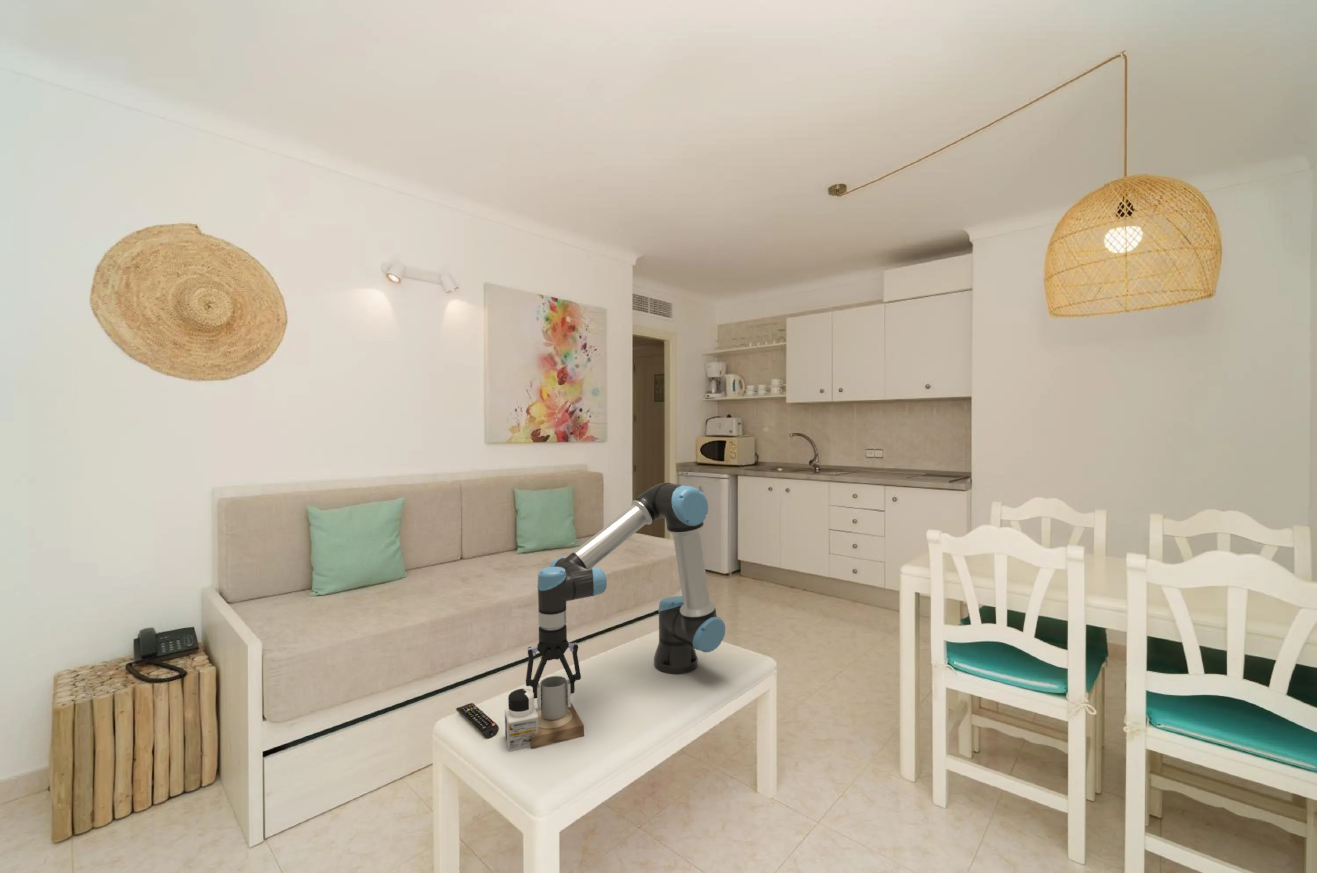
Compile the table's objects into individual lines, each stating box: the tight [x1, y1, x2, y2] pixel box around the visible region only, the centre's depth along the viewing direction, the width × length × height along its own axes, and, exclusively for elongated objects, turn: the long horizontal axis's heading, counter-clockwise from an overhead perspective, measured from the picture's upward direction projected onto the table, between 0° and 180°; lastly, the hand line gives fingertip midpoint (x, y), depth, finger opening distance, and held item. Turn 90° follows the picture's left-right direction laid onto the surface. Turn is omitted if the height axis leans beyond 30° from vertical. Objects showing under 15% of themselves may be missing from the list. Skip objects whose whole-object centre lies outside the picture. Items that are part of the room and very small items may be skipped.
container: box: [504, 688, 539, 752], centre depth 147 cm, size 8×8×13 cm
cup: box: [539, 675, 568, 720], centre depth 155 cm, size 7×10×9 cm
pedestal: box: [530, 702, 585, 750], centre depth 153 cm, size 14×14×3 cm
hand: (553, 706), depth 153 cm, fingers open, 7 cm apart
